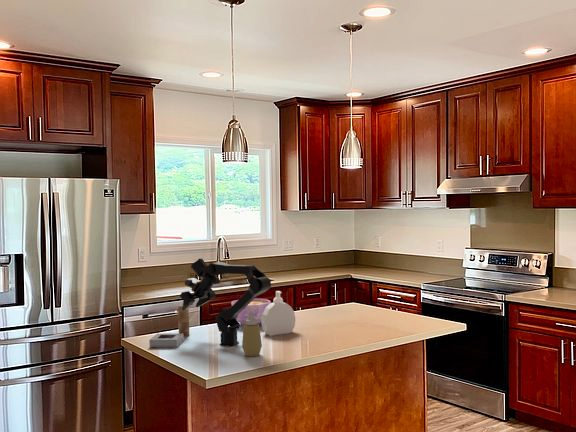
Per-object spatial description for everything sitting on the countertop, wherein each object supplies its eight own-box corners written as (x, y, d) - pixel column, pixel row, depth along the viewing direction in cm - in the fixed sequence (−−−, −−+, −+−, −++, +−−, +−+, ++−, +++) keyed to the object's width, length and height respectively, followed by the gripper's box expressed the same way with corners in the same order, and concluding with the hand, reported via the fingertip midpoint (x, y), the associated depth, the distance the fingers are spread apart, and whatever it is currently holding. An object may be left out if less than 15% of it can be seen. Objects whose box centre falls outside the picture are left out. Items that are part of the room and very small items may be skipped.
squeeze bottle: (262, 352, 243) (261, 309, 243) (261, 357, 235) (260, 312, 235) (242, 352, 243) (241, 309, 243) (241, 358, 235) (240, 313, 235)
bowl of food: (263, 319, 312) (263, 297, 312) (276, 326, 293) (276, 303, 293) (227, 322, 305) (226, 300, 304) (238, 330, 286) (237, 306, 286)
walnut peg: (191, 334, 279) (190, 305, 278) (185, 337, 274) (184, 307, 274) (182, 333, 281) (181, 304, 280) (176, 336, 276) (175, 306, 276)
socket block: (183, 341, 266) (183, 333, 266) (176, 347, 254) (176, 339, 254) (157, 341, 267) (157, 333, 267) (149, 347, 255) (149, 339, 255)
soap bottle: (266, 336, 271) (265, 293, 271) (261, 334, 276) (260, 292, 275) (296, 332, 279) (295, 290, 278) (290, 330, 284) (290, 289, 283)
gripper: (209, 269, 276) (193, 293, 282) (181, 274, 260) (165, 298, 266) (223, 286, 271) (207, 309, 277) (195, 292, 256) (179, 316, 262)
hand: (189, 308), depth 271 cm, fingers open, 9 cm apart
